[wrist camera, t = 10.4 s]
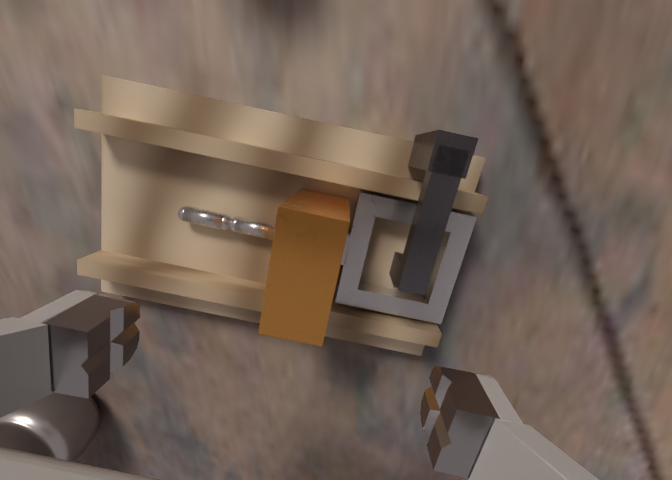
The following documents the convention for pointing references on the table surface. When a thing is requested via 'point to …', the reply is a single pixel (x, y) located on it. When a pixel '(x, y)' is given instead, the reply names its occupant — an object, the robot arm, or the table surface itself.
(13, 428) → the plastic bottle
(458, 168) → the keeper hook
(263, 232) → the chain end link
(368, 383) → the table surface
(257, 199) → the guide board
